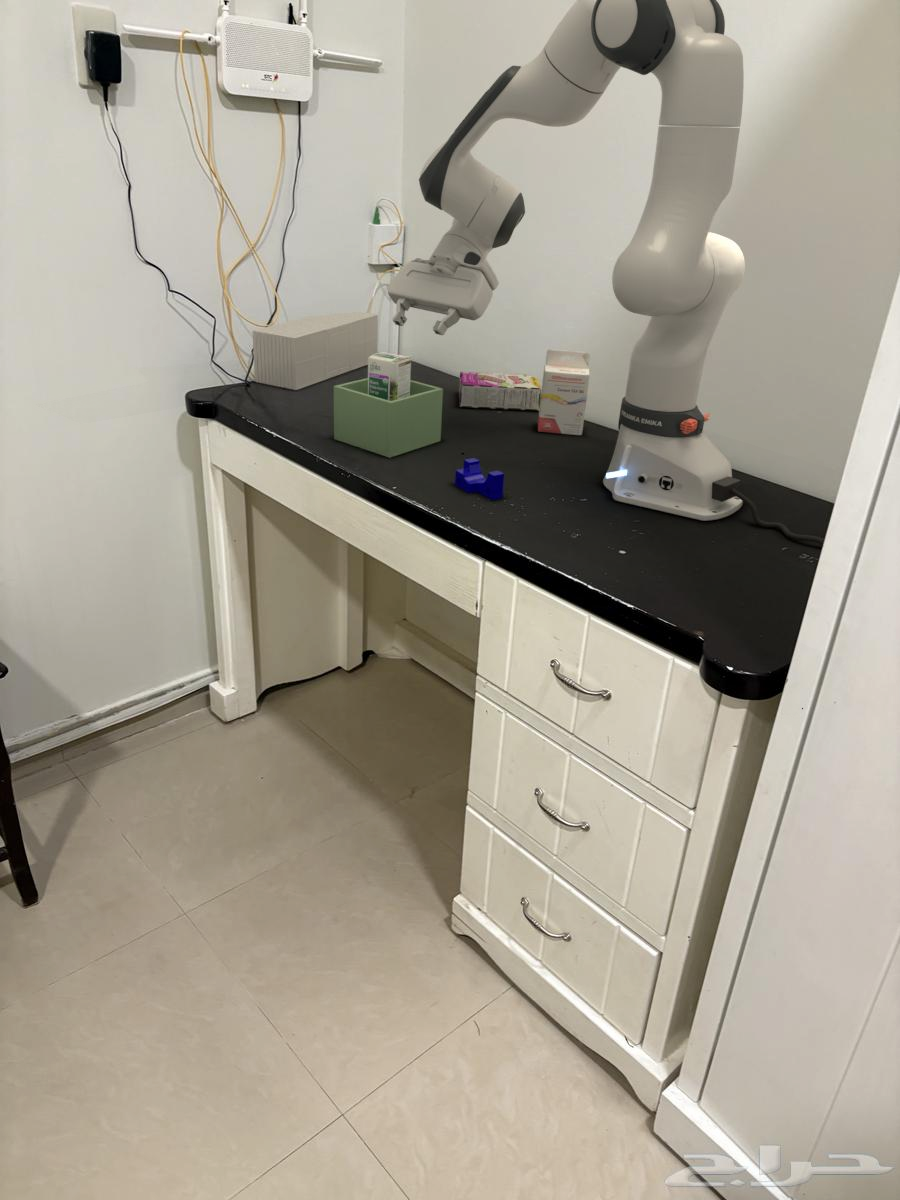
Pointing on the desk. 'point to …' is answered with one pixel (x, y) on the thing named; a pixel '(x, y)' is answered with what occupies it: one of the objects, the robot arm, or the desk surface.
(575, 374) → the ink cartridge box
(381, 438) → the waste bin
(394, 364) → the syrup box
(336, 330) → the stack of papers
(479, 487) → the cable holder
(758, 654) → the desk surface
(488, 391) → the candy bar box
